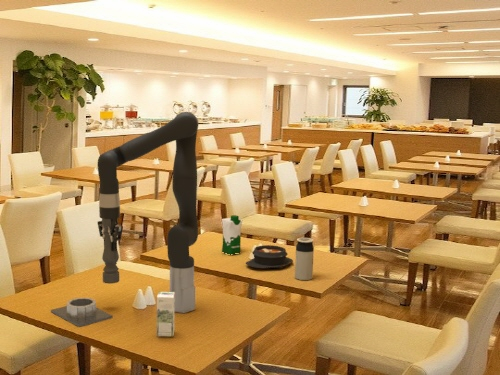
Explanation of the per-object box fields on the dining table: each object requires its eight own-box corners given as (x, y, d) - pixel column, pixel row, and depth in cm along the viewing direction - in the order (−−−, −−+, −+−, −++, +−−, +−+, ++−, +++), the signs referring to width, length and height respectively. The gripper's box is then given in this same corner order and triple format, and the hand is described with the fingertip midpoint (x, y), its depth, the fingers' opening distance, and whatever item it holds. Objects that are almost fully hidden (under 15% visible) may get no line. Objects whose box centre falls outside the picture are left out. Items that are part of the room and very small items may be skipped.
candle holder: (103, 284, 237) (101, 218, 234) (102, 279, 243) (100, 215, 240) (120, 282, 239) (118, 217, 235) (118, 278, 245) (117, 214, 241)
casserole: (262, 274, 292) (263, 257, 291) (237, 265, 306) (237, 248, 305) (301, 266, 308) (302, 249, 307) (275, 257, 322) (276, 241, 321)
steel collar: (112, 317, 233) (112, 305, 233) (78, 327, 224) (78, 314, 223) (84, 303, 247) (83, 291, 246) (50, 311, 237) (50, 299, 237)
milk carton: (229, 256, 321) (230, 217, 318) (219, 252, 328) (219, 214, 325) (243, 254, 327) (244, 216, 323) (232, 250, 333) (233, 213, 330)
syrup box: (174, 330, 223) (175, 291, 220) (173, 337, 217) (173, 296, 214) (158, 330, 222) (158, 290, 220) (156, 337, 217) (156, 296, 214)
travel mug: (292, 279, 286) (294, 240, 283) (297, 274, 293) (298, 236, 291) (310, 281, 283) (311, 242, 281) (314, 276, 291) (315, 238, 288)
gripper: (129, 206, 234) (129, 251, 237) (107, 201, 244) (108, 244, 247) (111, 208, 229) (112, 255, 232) (90, 203, 239) (91, 248, 242)
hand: (110, 249), depth 239 cm, fingers closed on candle holder, 4 cm apart
